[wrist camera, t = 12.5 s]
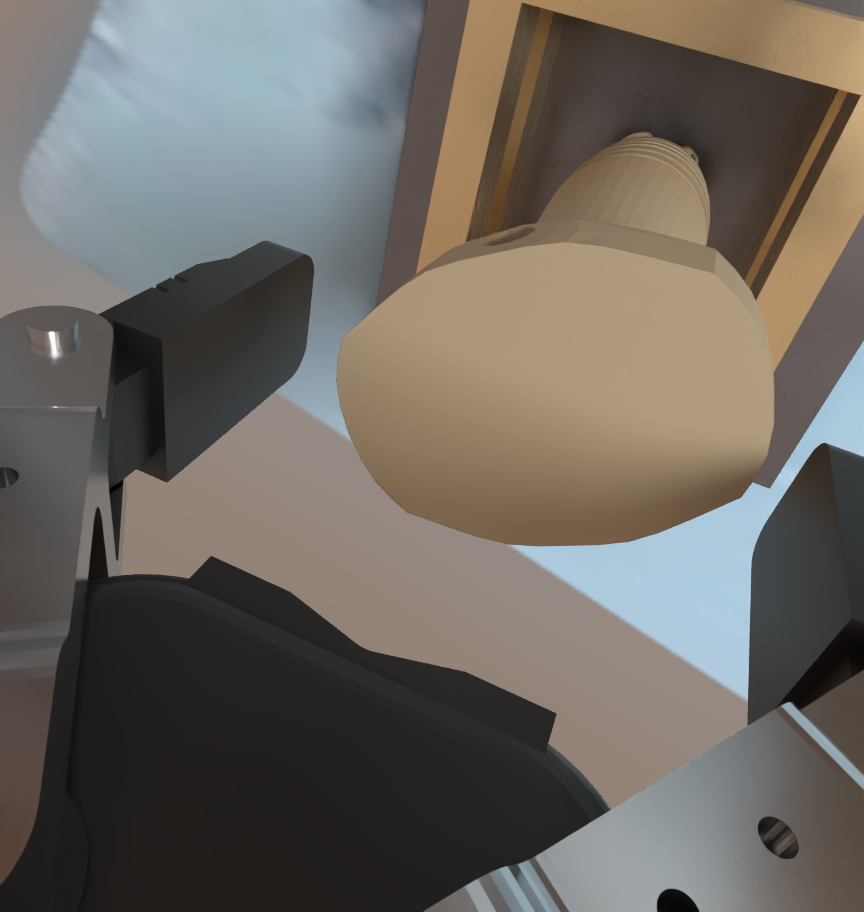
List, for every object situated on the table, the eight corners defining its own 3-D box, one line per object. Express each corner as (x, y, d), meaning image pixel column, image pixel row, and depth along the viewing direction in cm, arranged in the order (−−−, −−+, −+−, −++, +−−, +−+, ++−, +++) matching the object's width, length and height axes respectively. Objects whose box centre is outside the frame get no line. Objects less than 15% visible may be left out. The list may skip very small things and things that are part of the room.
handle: (768, 240, 22) (787, 541, 10) (563, 279, 25) (393, 548, 13) (754, 67, 20) (756, 197, 8) (530, 131, 23) (295, 295, 11)
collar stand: (478, -226, 20) (379, -298, 14) (1118, -86, 17) (1274, -115, 12) (381, 330, 30) (303, 401, 25) (769, 473, 27) (771, 588, 22)
